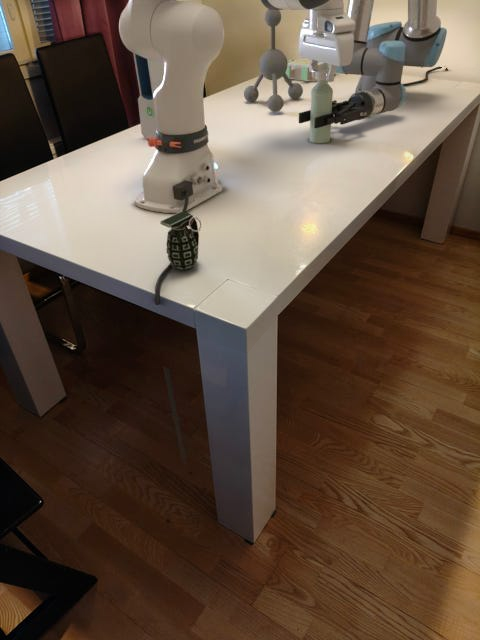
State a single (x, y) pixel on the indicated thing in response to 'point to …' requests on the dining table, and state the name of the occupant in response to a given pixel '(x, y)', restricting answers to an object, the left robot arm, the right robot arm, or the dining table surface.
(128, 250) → the dining table surface
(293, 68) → the decorative block
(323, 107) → the bottle
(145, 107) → the electronic device
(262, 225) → the dining table surface
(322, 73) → the cap
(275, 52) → the molecular model
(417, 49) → the right robot arm
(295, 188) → the dining table surface
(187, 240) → the grenade
